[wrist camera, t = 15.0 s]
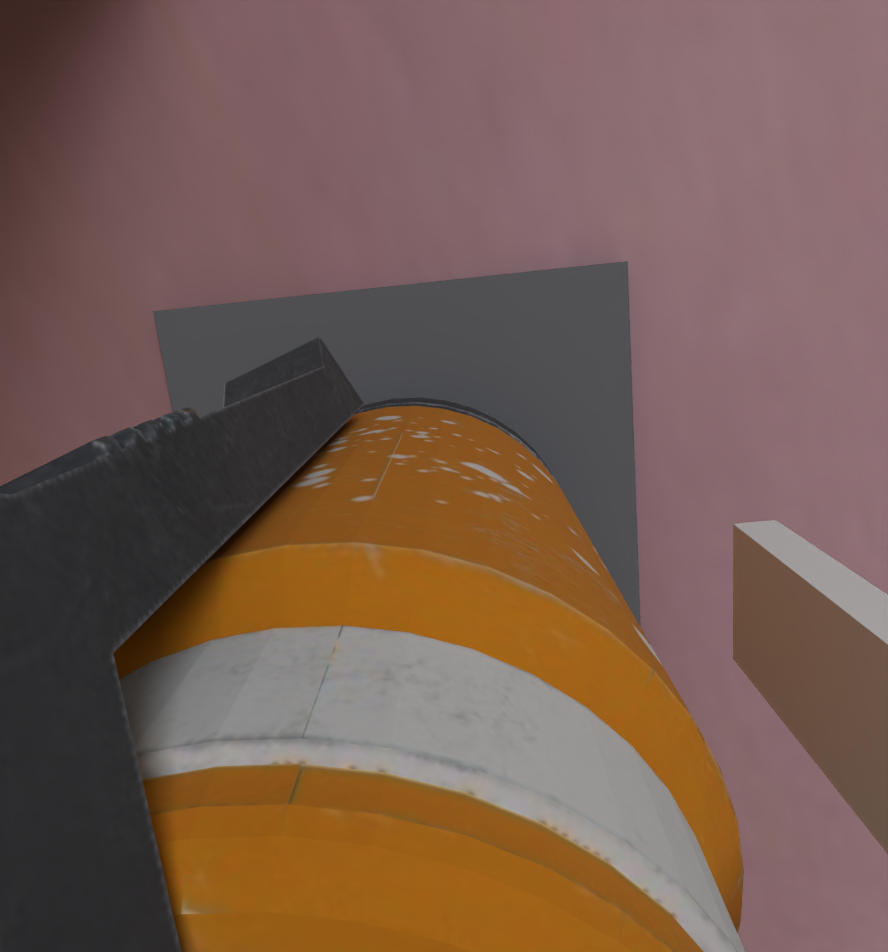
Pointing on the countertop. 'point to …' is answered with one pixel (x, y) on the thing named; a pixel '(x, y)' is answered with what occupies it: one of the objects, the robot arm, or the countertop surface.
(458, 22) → the countertop surface
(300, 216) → the countertop surface
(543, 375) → the drip mat
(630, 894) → the canister
